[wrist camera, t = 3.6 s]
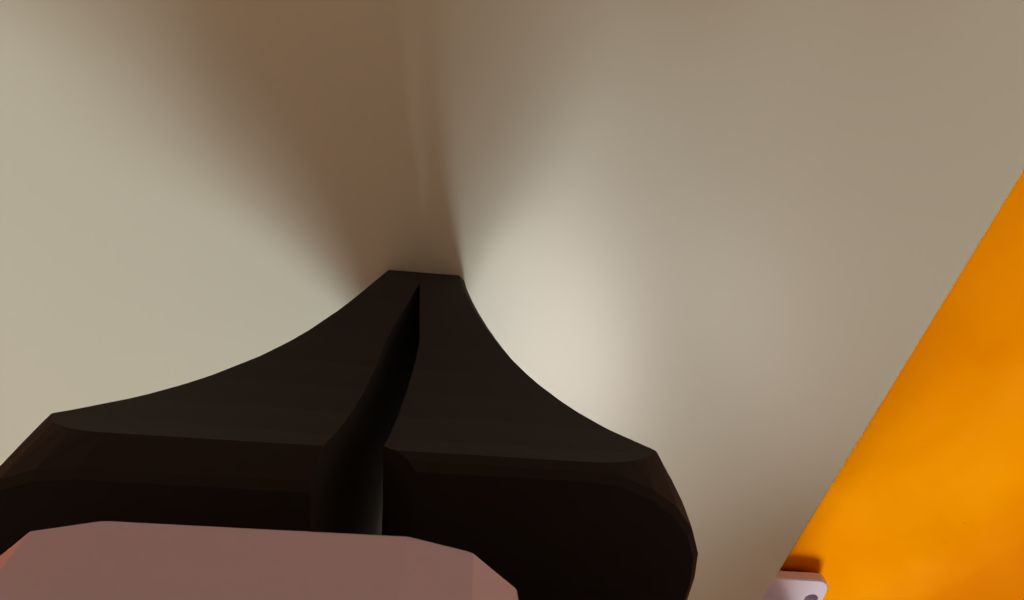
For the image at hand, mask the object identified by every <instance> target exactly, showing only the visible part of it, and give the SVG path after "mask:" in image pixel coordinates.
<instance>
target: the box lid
mask: <svg viewBox="0 0 1024 600" xmlns="http://www.w3.org/2000/svg"><path fill="white" fill-rule="evenodd" d="M1023 170H1024V0H0V466H1V465H2V464H3V462H4V461H5V460H6V459H7V458H8V457H9V456H10V455H11V454H12V453H13V452H14V451H15V450H16V449H17V448H18V447H19V446H20V445H21V443H22V442H23V441H24V440H25V439H26V438H27V437H28V436H29V435H30V434H31V433H32V432H33V431H34V430H35V429H36V428H37V427H38V426H39V425H40V424H41V423H42V422H43V421H44V420H45V419H46V418H47V417H48V416H49V415H50V414H51V413H56V412H62V411H68V410H74V409H79V408H84V407H89V406H94V405H99V404H104V403H109V402H114V401H119V400H124V399H129V398H133V397H138V396H142V395H146V394H150V393H154V392H157V391H161V390H165V389H168V388H172V387H176V386H179V385H183V384H186V383H189V382H192V381H195V380H198V379H202V378H205V377H208V376H211V375H213V374H216V373H218V372H221V371H224V370H226V369H229V368H231V367H234V366H236V365H239V364H241V363H244V362H246V361H249V360H251V359H254V358H257V357H259V356H261V355H263V354H265V353H267V352H269V351H271V350H273V349H275V348H277V347H279V346H281V345H283V344H285V343H287V342H289V341H291V340H293V339H295V338H296V337H298V336H300V335H302V334H303V333H305V332H307V331H308V330H310V329H311V328H313V327H314V326H316V325H317V324H319V323H320V322H322V321H323V320H325V319H326V318H328V317H329V316H331V315H332V314H334V313H335V312H337V311H338V310H340V309H341V308H342V307H343V306H345V305H346V304H347V303H349V302H350V301H351V300H352V299H354V298H355V297H356V296H357V295H359V294H360V293H361V292H362V291H364V290H365V289H366V288H367V287H368V286H369V285H371V284H372V283H373V282H374V281H375V280H377V279H378V278H379V277H380V276H382V275H383V274H384V273H385V272H387V271H388V270H397V271H409V272H421V273H433V274H447V275H459V276H460V277H461V278H462V279H463V280H464V282H465V285H466V288H467V291H468V293H469V295H470V298H471V300H472V302H473V304H474V306H475V308H476V309H477V311H478V313H479V315H480V316H481V318H482V319H483V321H484V323H485V324H486V326H487V327H488V329H489V330H490V332H491V333H492V335H493V336H494V338H495V339H496V340H497V342H498V343H499V344H500V345H501V347H502V348H503V349H504V351H505V352H506V353H507V354H508V355H509V357H510V358H511V359H512V360H513V361H514V362H515V363H516V364H517V365H518V366H519V367H520V368H521V369H522V370H523V371H524V372H525V373H526V374H527V375H528V376H529V377H530V378H532V379H533V380H534V381H535V382H536V383H538V384H539V385H540V386H541V387H543V388H544V389H545V390H547V391H548V392H549V393H551V394H552V395H553V396H555V397H556V398H557V399H558V400H560V401H561V402H563V403H564V404H566V405H567V406H569V407H570V408H572V409H573V410H575V411H577V412H578V413H580V414H582V415H583V416H585V417H587V418H589V419H590V420H592V421H594V422H596V423H597V424H599V425H601V426H603V427H605V428H607V429H609V430H611V431H613V432H615V433H617V434H620V435H622V436H624V437H626V438H629V439H631V440H633V441H635V442H638V443H640V444H642V445H644V446H647V447H649V448H651V449H653V450H655V451H656V452H657V453H658V455H659V457H660V459H661V461H662V463H663V465H664V467H665V468H666V470H667V472H668V474H669V476H670V478H671V479H672V481H673V483H674V485H675V487H676V490H677V492H678V494H679V496H680V498H681V500H682V502H683V505H684V507H685V510H686V513H687V515H688V518H689V521H690V524H691V527H692V530H693V534H694V538H695V542H696V547H697V551H698V558H697V565H696V571H695V578H694V581H693V584H692V587H691V590H690V593H689V596H688V599H687V600H762V598H763V596H764V595H765V593H766V592H767V590H768V588H769V587H770V585H771V583H772V582H773V580H774V578H775V577H776V575H777V574H778V572H779V570H780V569H781V567H782V565H783V564H784V562H785V560H786V559H787V557H788V556H789V554H790V552H791V551H792V549H793V547H794V546H795V544H796V542H797V541H798V539H799V537H800V536H801V534H802V533H803V531H804V529H805V528H806V526H807V524H808V523H809V521H810V519H811V518H812V516H813V515H814V513H815V511H816V510H817V508H818V506H819V505H820V503H821V501H822V500H823V498H824V497H825V495H826V493H827V492H828V490H829V488H830V487H831V485H832V483H833V482H834V480H835V478H836V477H837V475H838V474H839V472H840V470H841V469H842V467H843V465H844V464H845V462H846V460H847V459H848V457H849V456H850V454H851V452H852V451H853V449H854V447H855V446H856V444H857V442H858V441H859V439H860V438H861V436H862V434H863V433H864V431H865V429H866V428H867V426H868V424H869V423H870V421H871V419H872V418H873V416H874V415H875V413H876V411H877V410H878V408H879V406H880V405H881V403H882V401H883V400H884V398H885V397H886V395H887V393H888V392H889V390H890V388H891V387H892V385H893V383H894V382H895V380H896V379H897V377H898V375H899V374H900V372H901V370H902V369H903V367H904V365H905V364H906V362H907V361H908V359H909V357H910V356H911V354H912V352H913V351H914V349H915V347H916V346H917V344H918V342H919V341H920V339H921V338H922V336H923V334H924V333H925V331H926V329H927V328H928V326H929V324H930V323H931V321H932V320H933V318H934V316H935V315H936V313H937V311H938V310H939V308H940V306H941V305H942V303H943V302H944V300H945V298H946V297H947V295H948V293H949V292H950V290H951V288H952V287H953V285H954V283H955V282H956V280H957V279H958V277H959V275H960V274H961V272H962V270H963V269H964V267H965V265H966V264H967V262H968V261H969V259H970V257H971V256H972V254H973V252H974V251H975V249H976V247H977V246H978V244H979V243H980V241H981V239H982V238H983V236H984V234H985V233H986V231H987V229H988V228H989V226H990V224H991V223H992V221H993V220H994V218H995V216H996V215H997V213H998V211H999V210H1000V208H1001V206H1002V205H1003V203H1004V202H1005V200H1006V198H1007V197H1008V195H1009V193H1010V192H1011V190H1012V188H1013V187H1014V185H1015V184H1016V182H1017V180H1018V179H1019V177H1020V175H1021V174H1022V172H1023Z"/></svg>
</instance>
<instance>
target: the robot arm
mask: <svg viewBox="0 0 1024 600" xmlns="http://www.w3.org/2000/svg"><path fill="white" fill-rule="evenodd" d="M697 558H698V551H697V547H696V542H695V538H694V534H693V530H692V527H691V524H690V521H689V518H688V515H687V513H686V510H685V507H684V505H683V502H682V500H681V498H680V496H679V494H678V492H677V490H676V487H675V485H674V483H673V481H672V479H671V478H670V476H669V474H668V472H667V470H666V468H665V467H664V465H663V463H662V461H661V459H660V457H659V455H658V453H657V452H656V451H655V450H653V449H651V448H649V447H647V446H644V445H642V444H640V443H638V442H635V441H633V440H631V439H629V438H626V437H624V436H622V435H620V434H617V433H615V432H613V431H611V430H609V429H607V428H605V427H603V426H601V425H599V424H597V423H596V422H594V421H592V420H590V419H589V418H587V417H585V416H583V415H582V414H580V413H578V412H577V411H575V410H573V409H572V408H570V407H569V406H567V405H566V404H564V403H563V402H561V401H560V400H558V399H557V398H556V397H555V396H553V395H552V394H551V393H549V392H548V391H547V390H545V389H544V388H543V387H541V386H540V385H539V384H538V383H536V382H535V381H534V380H533V379H532V378H530V377H529V376H528V375H527V374H526V373H525V372H524V371H523V370H522V369H521V368H520V367H519V366H518V365H517V364H516V363H515V362H514V361H513V360H512V359H511V358H510V357H509V355H508V354H507V353H506V352H505V351H504V349H503V348H502V347H501V345H500V344H499V343H498V342H497V340H496V339H495V338H494V336H493V335H492V333H491V332H490V330H489V329H488V327H487V326H486V324H485V323H484V321H483V319H482V318H481V316H480V315H479V313H478V311H477V309H476V308H475V306H474V304H473V302H472V300H471V298H470V295H469V293H468V291H467V288H466V285H465V282H464V280H463V279H462V278H461V277H460V276H459V275H447V274H433V273H421V272H409V271H397V270H388V271H387V272H385V273H384V274H383V275H382V276H380V277H379V278H378V279H377V280H375V281H374V282H373V283H372V284H371V285H369V286H368V287H367V288H366V289H365V290H364V291H362V292H361V293H360V294H359V295H357V296H356V297H355V298H354V299H352V300H351V301H350V302H349V303H347V304H346V305H345V306H343V307H342V308H341V309H340V310H338V311H337V312H335V313H334V314H332V315H331V316H329V317H328V318H326V319H325V320H323V321H322V322H320V323H319V324H317V325H316V326H314V327H313V328H311V329H310V330H308V331H307V332H305V333H303V334H302V335H300V336H298V337H296V338H295V339H293V340H291V341H289V342H287V343H285V344H283V345H281V346H279V347H277V348H275V349H273V350H271V351H269V352H267V353H265V354H263V355H261V356H259V357H257V358H254V359H251V360H249V361H246V362H244V363H241V364H239V365H236V366H234V367H231V368H229V369H226V370H224V371H221V372H218V373H216V374H213V375H211V376H208V377H205V378H202V379H198V380H195V381H192V382H189V383H186V384H183V385H179V386H176V387H172V388H168V389H165V390H161V391H157V392H154V393H150V394H146V395H142V396H138V397H133V398H129V399H124V400H119V401H114V402H109V403H104V404H99V405H94V406H89V407H84V408H79V409H74V410H68V411H62V412H56V413H51V414H50V415H49V416H48V417H47V418H46V419H45V420H44V421H43V422H42V423H41V424H40V425H39V426H38V427H37V428H36V429H35V430H34V431H33V432H32V433H31V434H30V435H29V436H28V437H27V438H26V439H25V440H24V441H23V442H22V443H21V445H20V446H19V447H18V448H17V449H16V450H15V451H14V452H13V453H12V454H11V455H10V456H9V457H8V458H7V459H6V460H5V461H4V462H3V464H2V465H1V466H0V600H687V599H688V596H689V593H690V590H691V587H692V584H693V581H694V578H695V571H696V565H697ZM827 588H828V585H827V583H826V581H825V579H824V577H823V576H822V575H821V574H818V573H810V572H792V571H779V572H778V574H777V575H776V577H775V578H774V580H773V582H772V583H771V585H770V587H769V588H768V590H767V592H766V593H765V595H764V596H763V598H762V600H823V598H824V596H825V593H826V591H827Z"/></svg>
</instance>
